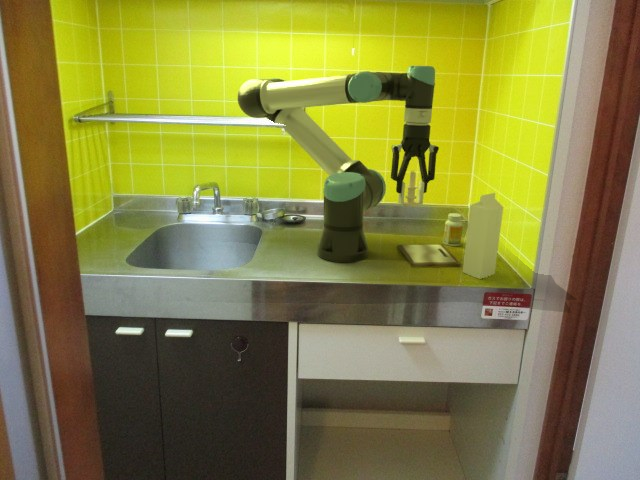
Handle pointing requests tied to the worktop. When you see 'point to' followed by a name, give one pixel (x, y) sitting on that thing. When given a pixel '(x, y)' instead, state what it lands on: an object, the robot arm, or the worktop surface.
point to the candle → (411, 192)
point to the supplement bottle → (453, 230)
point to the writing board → (428, 255)
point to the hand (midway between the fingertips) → (410, 203)
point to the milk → (483, 237)
